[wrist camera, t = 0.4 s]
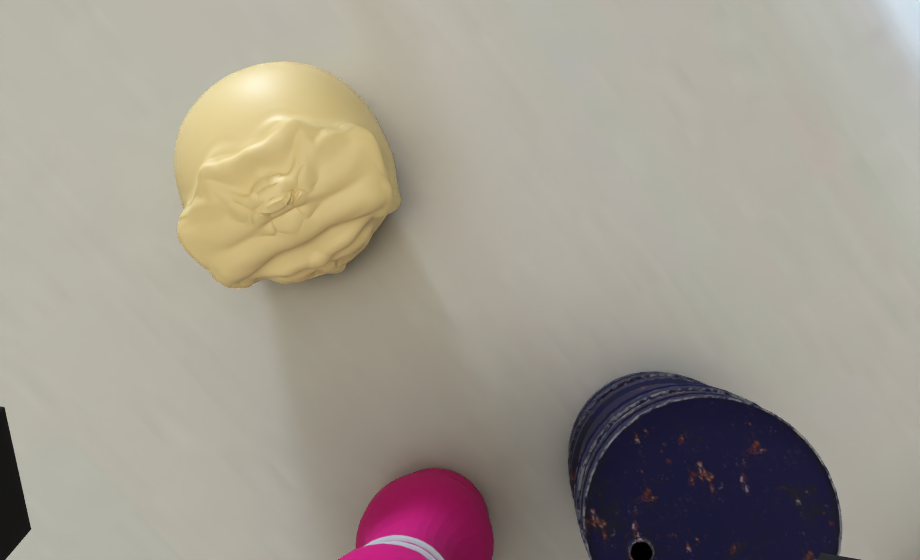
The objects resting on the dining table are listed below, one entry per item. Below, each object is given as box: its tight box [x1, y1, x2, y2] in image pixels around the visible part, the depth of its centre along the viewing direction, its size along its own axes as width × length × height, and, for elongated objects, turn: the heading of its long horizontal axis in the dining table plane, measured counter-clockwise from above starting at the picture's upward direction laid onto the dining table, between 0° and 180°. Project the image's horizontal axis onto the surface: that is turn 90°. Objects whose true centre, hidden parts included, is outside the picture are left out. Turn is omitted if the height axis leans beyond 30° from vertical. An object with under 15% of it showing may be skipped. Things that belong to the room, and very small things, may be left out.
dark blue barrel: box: [568, 372, 842, 560], centre depth 37 cm, size 10×10×15 cm
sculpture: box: [174, 62, 401, 288], centre depth 42 cm, size 11×12×11 cm
